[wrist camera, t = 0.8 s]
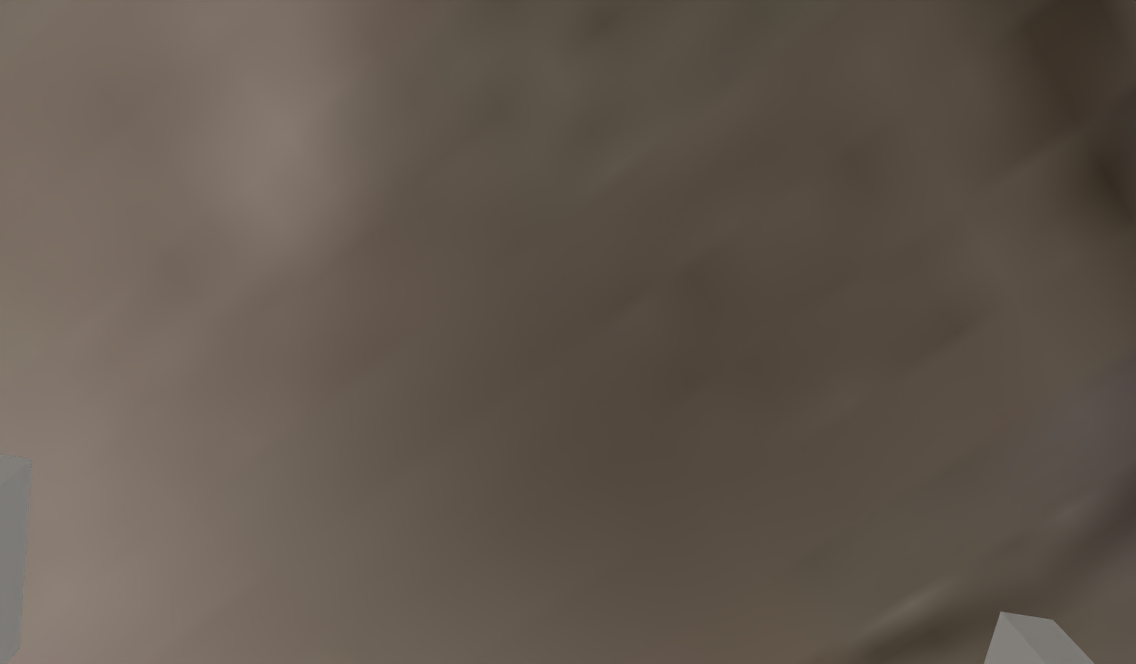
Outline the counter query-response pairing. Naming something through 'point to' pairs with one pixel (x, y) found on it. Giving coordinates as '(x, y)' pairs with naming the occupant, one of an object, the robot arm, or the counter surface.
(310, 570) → the counter surface
